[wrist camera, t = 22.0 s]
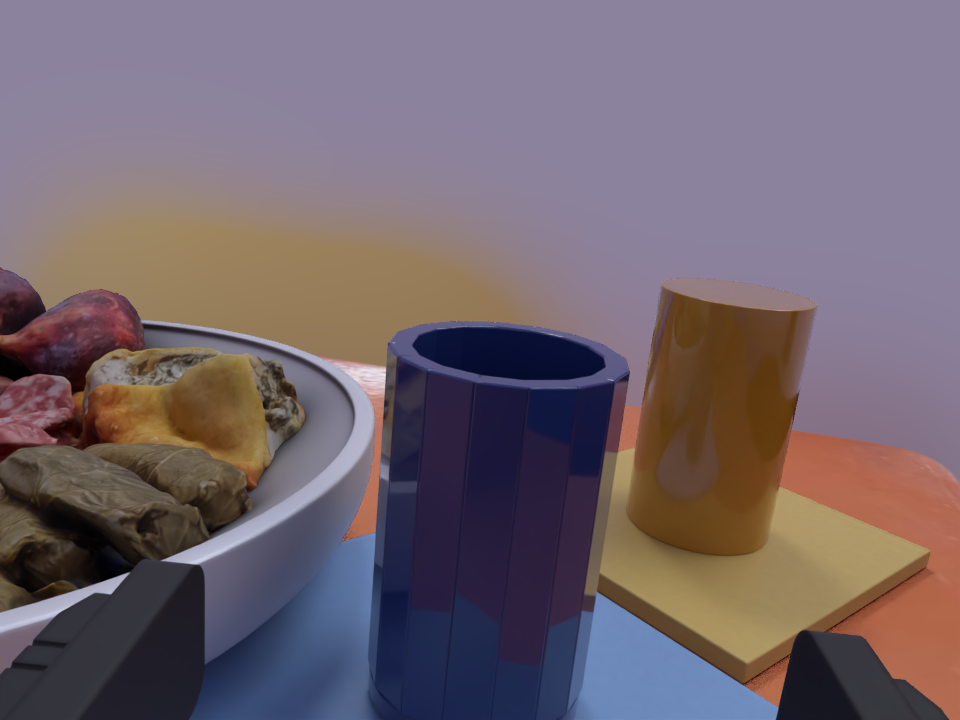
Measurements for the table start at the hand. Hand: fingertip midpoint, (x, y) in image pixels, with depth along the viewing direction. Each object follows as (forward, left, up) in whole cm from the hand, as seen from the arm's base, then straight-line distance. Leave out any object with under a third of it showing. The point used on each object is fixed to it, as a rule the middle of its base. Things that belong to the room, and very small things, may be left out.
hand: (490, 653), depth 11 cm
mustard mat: (+11, -22, -9) cm, 26 cm away
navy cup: (+8, -7, -8) cm, 13 cm away
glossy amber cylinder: (+11, -22, -8) cm, 26 cm away
